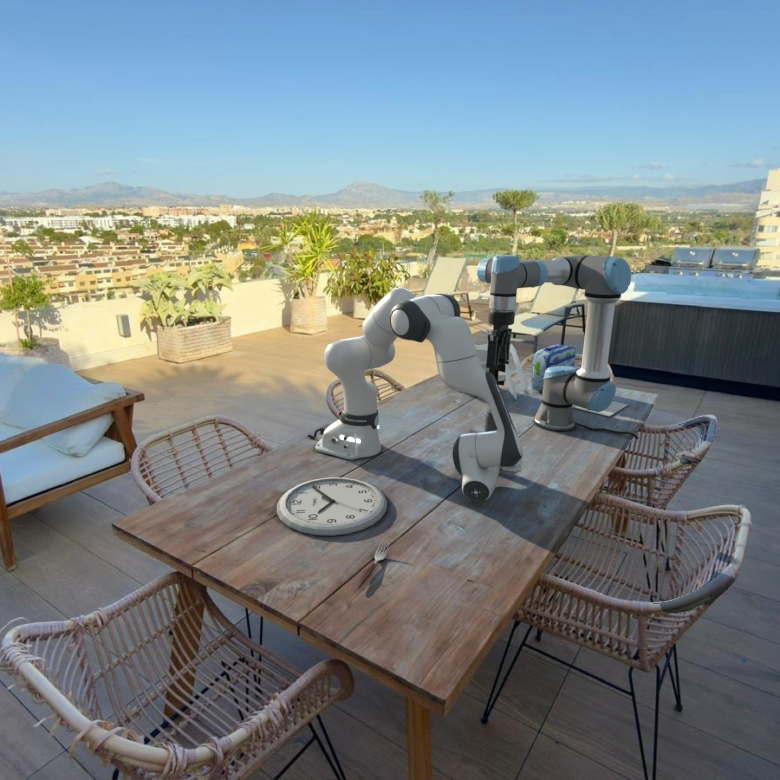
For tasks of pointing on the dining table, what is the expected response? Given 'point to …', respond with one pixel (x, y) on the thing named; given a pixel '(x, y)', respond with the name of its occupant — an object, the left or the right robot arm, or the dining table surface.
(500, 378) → the cream round lid
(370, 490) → the wall clock
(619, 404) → the invitation card
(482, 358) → the white plastic object
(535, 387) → the lunch box
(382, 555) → the fork
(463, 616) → the dining table surface
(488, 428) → the dark grey cylinder
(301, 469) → the dining table surface
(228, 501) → the dining table surface
